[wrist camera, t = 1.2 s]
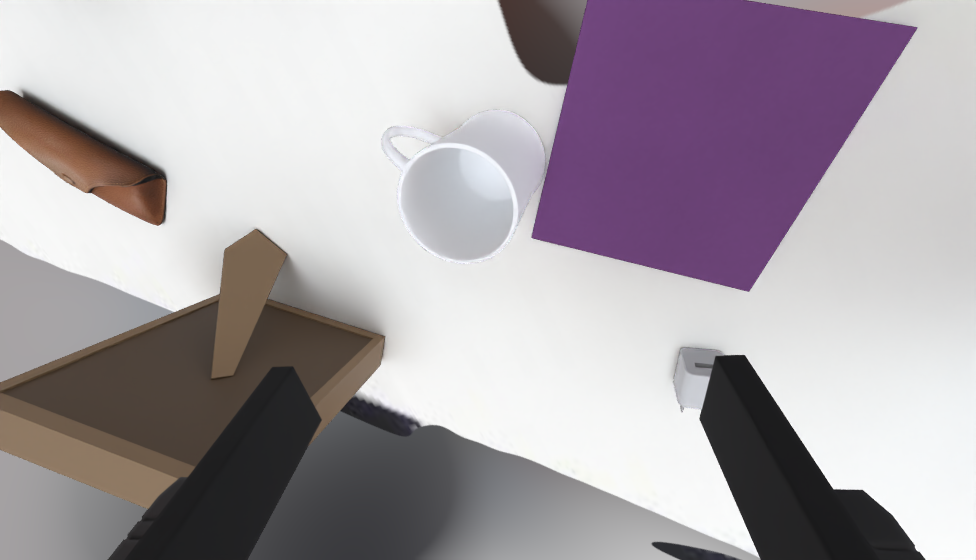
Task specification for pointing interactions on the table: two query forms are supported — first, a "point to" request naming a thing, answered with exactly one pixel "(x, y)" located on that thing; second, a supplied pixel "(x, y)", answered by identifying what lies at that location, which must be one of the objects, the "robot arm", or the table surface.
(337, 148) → the table surface
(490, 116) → the mug
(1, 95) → the sunglasses case
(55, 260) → the table surface
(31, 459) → the photo frame
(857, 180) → the table surface
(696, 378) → the usb wall charger
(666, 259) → the cloth
